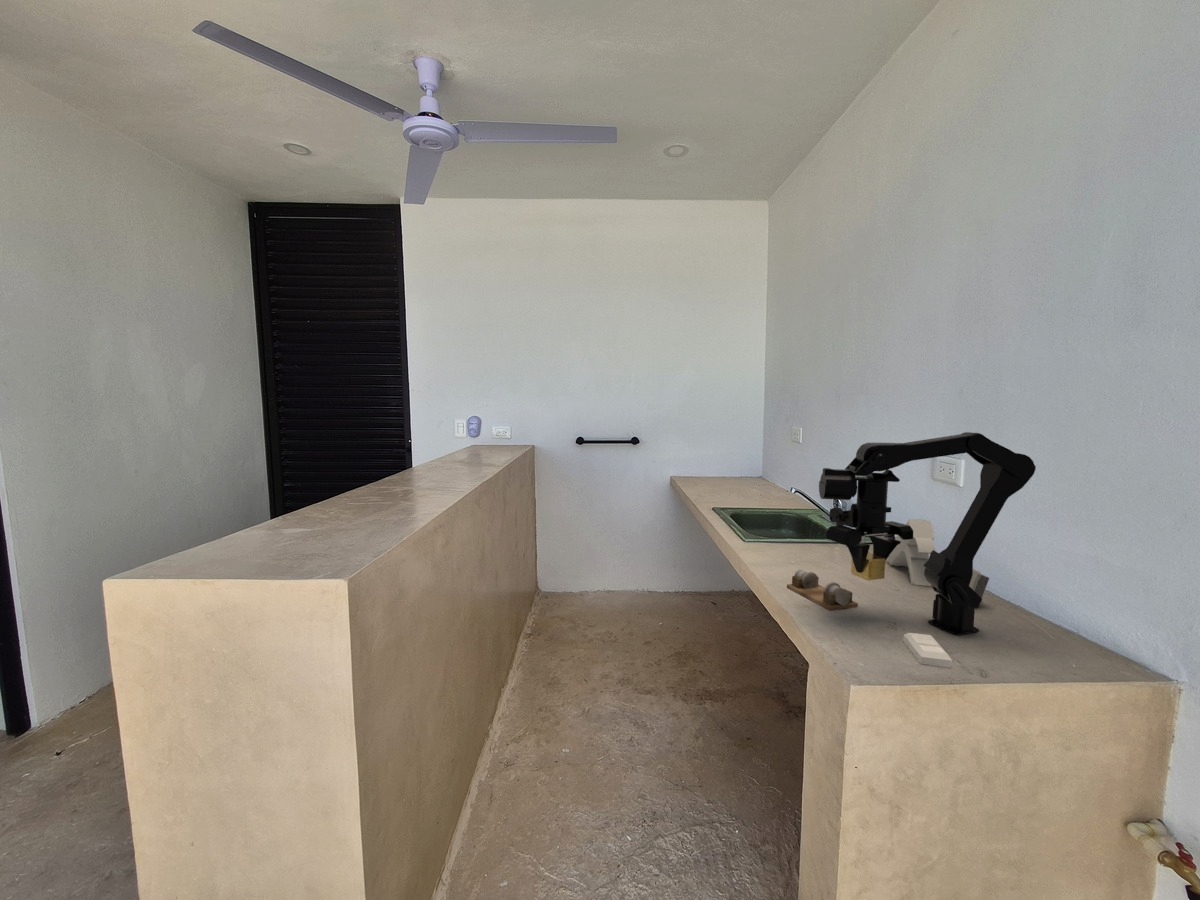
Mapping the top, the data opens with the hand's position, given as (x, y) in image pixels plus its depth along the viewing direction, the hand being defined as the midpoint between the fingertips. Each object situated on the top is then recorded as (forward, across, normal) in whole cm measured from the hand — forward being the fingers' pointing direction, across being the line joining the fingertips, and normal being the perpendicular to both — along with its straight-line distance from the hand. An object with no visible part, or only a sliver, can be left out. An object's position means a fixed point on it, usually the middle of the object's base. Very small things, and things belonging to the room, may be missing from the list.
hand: (867, 571), depth 106 cm
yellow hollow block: (+1, 0, 0) cm, 1 cm away
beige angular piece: (+11, -37, -20) cm, 43 cm away
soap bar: (+12, +1, +15) cm, 19 cm away
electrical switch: (+11, -31, -1) cm, 33 cm away
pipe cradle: (+11, 0, -14) cm, 17 cm away
